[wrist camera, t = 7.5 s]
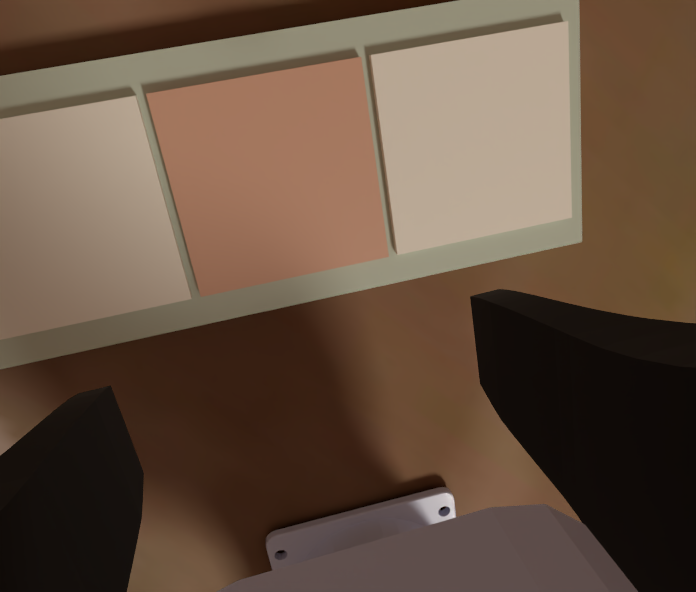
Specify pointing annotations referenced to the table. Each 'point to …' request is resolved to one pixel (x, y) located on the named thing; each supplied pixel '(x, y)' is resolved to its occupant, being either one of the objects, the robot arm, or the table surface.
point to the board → (282, 169)
